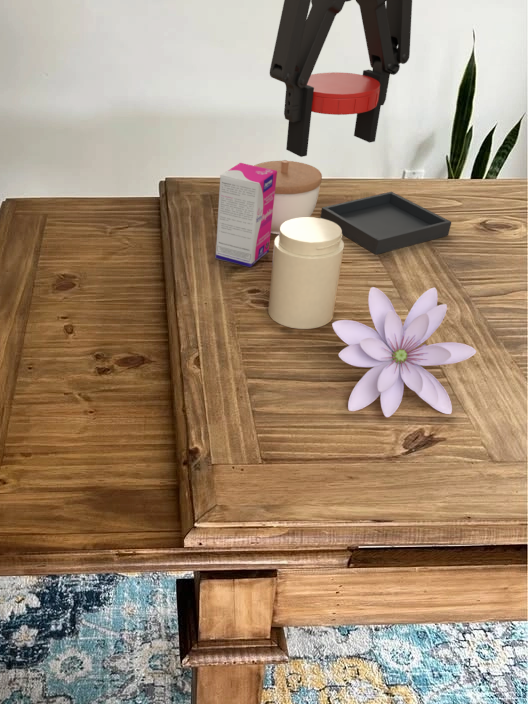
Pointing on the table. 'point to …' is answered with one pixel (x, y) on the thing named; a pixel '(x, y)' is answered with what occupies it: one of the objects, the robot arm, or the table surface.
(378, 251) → the tray
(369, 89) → the jam lid
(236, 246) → the supplement box
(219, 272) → the table surface
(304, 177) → the trinket box
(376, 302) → the water lily
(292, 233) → the jam jar
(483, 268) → the table surface
